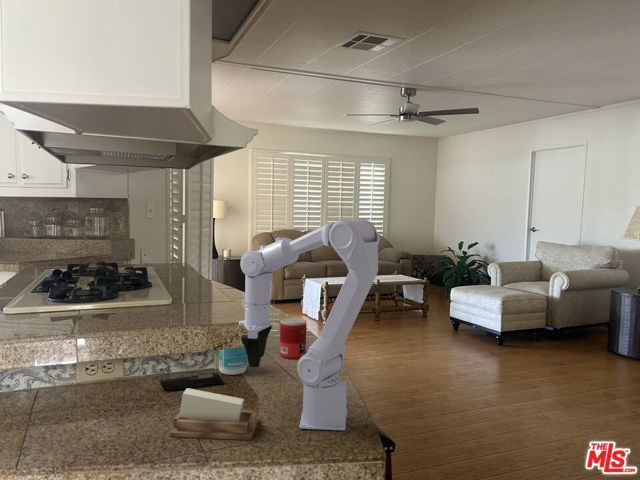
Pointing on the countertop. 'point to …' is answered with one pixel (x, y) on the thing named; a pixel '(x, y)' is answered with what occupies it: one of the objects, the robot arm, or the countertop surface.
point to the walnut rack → (216, 427)
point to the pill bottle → (232, 361)
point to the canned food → (292, 338)
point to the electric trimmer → (191, 381)
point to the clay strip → (210, 406)
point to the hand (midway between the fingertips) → (256, 361)
